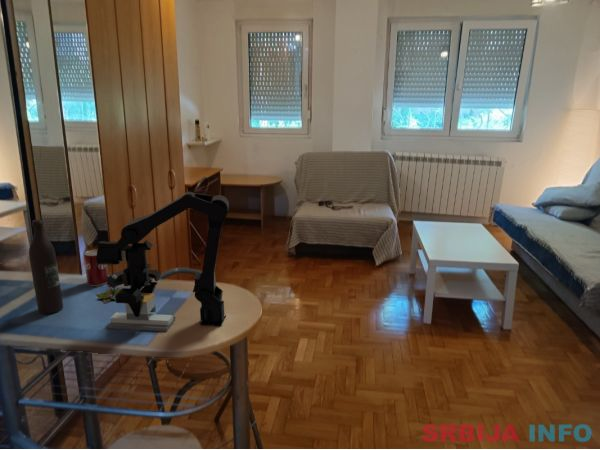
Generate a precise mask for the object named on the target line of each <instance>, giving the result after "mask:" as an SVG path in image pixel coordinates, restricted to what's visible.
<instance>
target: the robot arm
mask: <svg viewBox="0 0 600 450" xmlns="http://www.w3.org/2000/svg"><path fill="white" fill-rule="evenodd" d="M229 207H230V203H229V200H228V198H227V197H225V196H224V195H222V194H221V195H220V194H217V195H210V194H204V193H203V194H202V193H196V192H192V191H186V192H184V194H183V195H181V196H179V197H178V198H176V199H174V200H173V201H170V202H169V203H168V204H166V205H163V206H162V207H161V208H159V209H157V210H155V211H153V212H151V213H150V214H147V215H144V216H140V217H137V218H134V219H132V220H129V222H127V223H126V225H124V226H123V227H122V229H121V232H120V236H121V237H120V238H119V239H118V240H116V241H106V240H103V241H102V240H101V241H99V242H98V243H97V249H96V250H97V256H96V260H97V263H98V265H107V266H108V265H109V266H111V265H113V266H115V265H121V263H122V262H123V261H125V263H126V265H125V266H126V267H124V269H122V270H120V271H117V272H115V273H112V274H108V277H107V283H106V286H107V285H108V286H109V287H111V288H112V289H113V288H115V289H116V288H117V287H118V286H121V285H123V286H124V288H123V287H122V290H120V291H119V292H118V293H117V294H115V296H114V297H115V299H114V302H115V303H116V304H125V303H128V304H129V306H130V308H131V309H132V311H133V313H134V315H135V317H139V315H140V312H141V308H142V304H143V300H144V296H142V294H141V293H155V292H154V291H155V289H156V286H157V285H158V281H159V280H161V272H160V271H159V270H158V269H150V268H151V263H148V257H147V251H151V250H152V248H153V246H154V244H153V243H151V241H148V239H146V240H144V242H141V241H142V240H143V239H145V238H146V237H147V236H148V235H149V234H150V233H151V232H152V231H153V230H154V229H155V228H157V227H158V226H159V227H160V225H163V224H164V223H165V222H168V221H169V220H170V219H172V218H175V217H177V215H179V214H182V213H183V212H184V211H187V210H189V209H190V210H194V211H196V212H198V213H201V214H204V215H205V214H206V215H207V224H208V231H207V238H206V243H205V251H204V256H203V257H204V258H203V263H202V268H201V269H202V270H201V272H199V271H196V274H195V277H194V286H193V289H192V293H194V298H195V299H196V300H197V301H198V302H200V305H201V306H200V308H199V314H200V315H199V316H200V319H199V320H200V325H201V326H210V325H214V326H215V327H222V325H223V324H222V323H224V321H225V319H226V317H227V315H226V314H225V300H223V292H224V291H223V290H222V288H220V287H219V286H218V285H217V283H216V264H217V258H218V253H219V252H218V251H219V245H220V239H221V234H222V232H221V231H222V229H223V226H224V224H225V220H226V218H227V217H228V216H227V215H228V212H229ZM153 279H154V280H153ZM109 287H108V288H109ZM126 287H127V288H126ZM128 287H129V288H128ZM224 315H225V316H224Z"/></svg>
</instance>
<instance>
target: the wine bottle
mask: <svg viewBox="0 0 600 450" xmlns="http://www.w3.org/2000/svg"><path fill="white" fill-rule="evenodd" d="M31 227H32V228H33V229H32V230H33V238H32V240H31V243H30V245H29V249H28V255H29V256H28V257H29V263H30V269H31V274H32V282H33V287H34V294H35V299H36V305H37V311H38V312H39V314H41V315H51V314H56V313H58V312H59V311H62V310H63V309H64V302H63V297H62V289H61V283H60V275H59V269H58V263H57V256H56V251H55V248H54V245H53V244H52V242H51V240H49V239H48V237H47V236H46V234H45V232H44V228H43V227H44V220H42V219H33V220H32V222H31Z"/></svg>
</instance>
